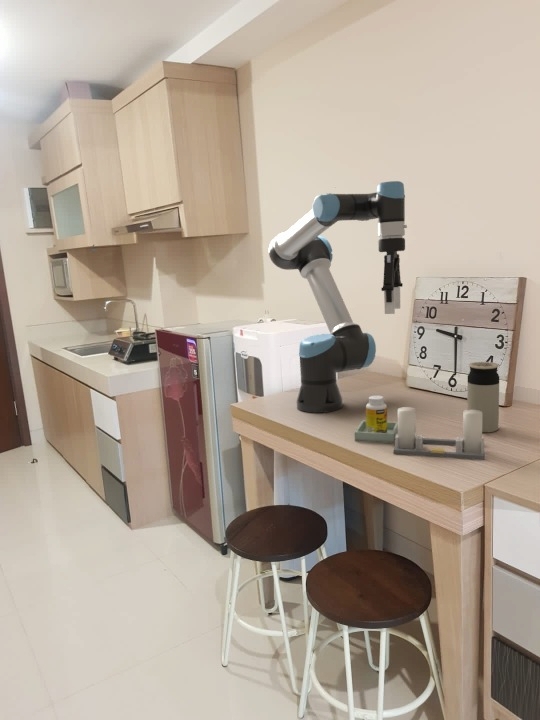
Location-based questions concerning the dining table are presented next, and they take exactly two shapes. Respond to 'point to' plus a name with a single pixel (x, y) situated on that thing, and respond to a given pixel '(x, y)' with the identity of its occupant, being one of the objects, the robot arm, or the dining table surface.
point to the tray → (366, 436)
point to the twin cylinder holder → (410, 441)
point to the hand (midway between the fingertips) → (392, 311)
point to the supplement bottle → (376, 415)
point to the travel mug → (484, 393)
